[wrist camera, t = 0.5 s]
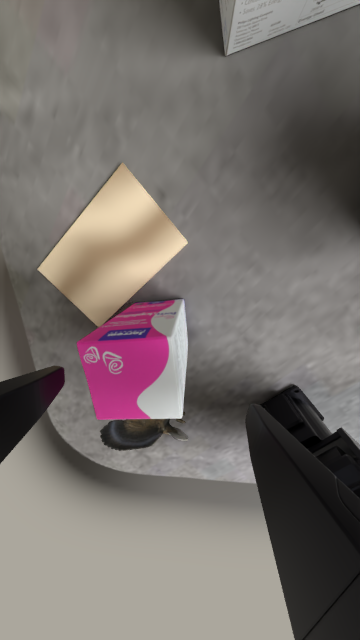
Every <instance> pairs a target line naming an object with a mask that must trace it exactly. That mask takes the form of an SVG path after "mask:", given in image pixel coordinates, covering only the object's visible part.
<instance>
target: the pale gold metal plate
mask: <svg viewBox="0 0 360 640" xmlns="http://www.w3.org/2000/svg"><path fill="white" fill-rule="evenodd" d="M187 243H188V242H187V240H186V239H185V238H184V237H183V236H182V234H181V233H180V232H179V231H178V229H177V228H176V227H175V226H174V225H173V223H172V222H171V221H170V220H169V218H168V217H167V216H166V215H165V214H164V212H163V211H162V210H161V209H160V207H159V206H158V205H157V204H156V203H155V201H154V200H153V199H152V198H151V197H150V195H149V194H148V193H147V192H146V190H145V189H144V188H143V187H142V186H141V184H140V183H139V182H138V181H137V179H136V178H135V177H134V176H133V175H132V173H131V172H130V171H129V170H128V168H127V167H126V166H125V165H124V164H123V162H122V164H121V165H120V166H119V167H118V169H117V170H116V171H115V172H114V174H113V175H112V176H111V178H110V179H109V180H108V181H107V183H106V184H105V185H104V186H103V188H102V189H101V190H100V191H99V193H98V194H97V195H96V196H95V198H94V199H93V200H92V201H91V203H90V204H89V205H88V206H87V208H86V209H85V210H84V211H83V213H82V214H81V215H80V216H79V218H78V219H77V220H76V221H75V223H74V224H73V225H72V226H71V228H70V229H69V230H68V231H67V233H66V234H65V235H64V236H63V238H62V239H61V240H60V241H59V243H58V244H57V245H56V246H55V248H54V249H53V250H52V251H51V253H50V254H49V255H48V256H47V258H46V259H45V260H44V261H43V263H42V264H41V265H40V266H39V268H38V270H39V271H40V272H41V273H42V274H43V275H44V276H45V277H46V278H47V279H48V280H49V281H50V282H51V283H52V284H53V285H54V286H56V287H57V288H58V289H59V290H60V291H61V292H62V293H63V294H64V295H65V296H66V297H67V298H68V299H69V300H70V301H71V302H72V303H73V304H74V305H76V306H77V307H78V308H79V309H80V310H81V311H82V312H83V313H84V314H85V315H86V316H87V317H88V318H89V319H90V320H91V321H92V322H93V323H94V324H96V325H97V326H98V327H100V326H102V325H103V324H104V323H105V322H106V321H107V320H108V319H109V318H110V317H111V316H112V315H113V314H114V313H115V312H116V311H118V310H119V309H120V308H121V307H122V306H123V305H124V304H125V303H126V302H127V301H128V300H129V299H130V298H131V297H132V296H133V295H134V294H135V293H136V292H137V291H138V290H139V289H140V288H141V287H143V286H144V285H145V284H146V283H147V282H148V281H149V280H150V279H151V278H152V277H153V276H154V275H155V274H156V273H157V272H158V271H159V270H160V269H161V268H162V267H163V266H164V265H165V264H166V263H168V262H169V261H170V260H171V259H172V258H173V257H174V256H175V255H176V254H177V253H178V252H179V251H180V250H181V249H182V248H183V247H184V246H185V245H186V244H187Z"/></svg>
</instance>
